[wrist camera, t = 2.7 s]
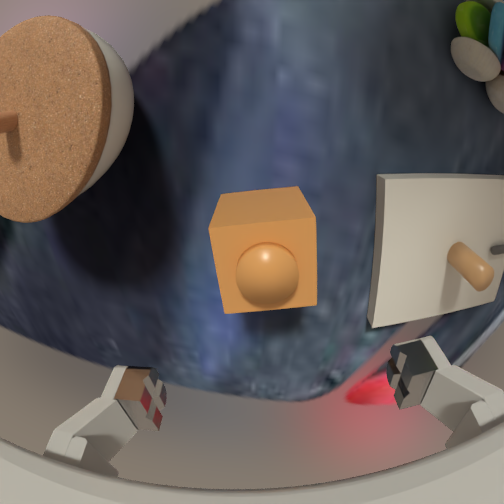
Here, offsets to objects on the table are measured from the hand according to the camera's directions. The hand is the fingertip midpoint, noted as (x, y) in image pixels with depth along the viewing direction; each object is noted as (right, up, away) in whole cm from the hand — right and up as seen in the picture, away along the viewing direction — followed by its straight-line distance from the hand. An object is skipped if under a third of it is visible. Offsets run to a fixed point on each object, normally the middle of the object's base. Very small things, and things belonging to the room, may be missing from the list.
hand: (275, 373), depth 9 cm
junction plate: (+15, +5, +11) cm, 20 cm away
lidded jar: (-12, +14, +7) cm, 20 cm away
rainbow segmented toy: (+17, +20, +4) cm, 27 cm away
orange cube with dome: (0, +6, +11) cm, 12 cm away
